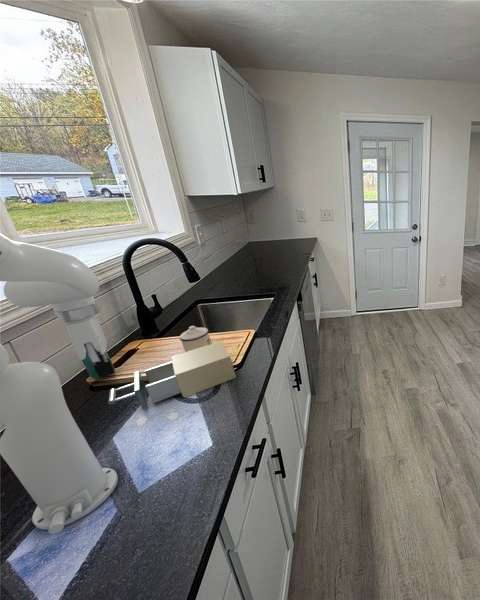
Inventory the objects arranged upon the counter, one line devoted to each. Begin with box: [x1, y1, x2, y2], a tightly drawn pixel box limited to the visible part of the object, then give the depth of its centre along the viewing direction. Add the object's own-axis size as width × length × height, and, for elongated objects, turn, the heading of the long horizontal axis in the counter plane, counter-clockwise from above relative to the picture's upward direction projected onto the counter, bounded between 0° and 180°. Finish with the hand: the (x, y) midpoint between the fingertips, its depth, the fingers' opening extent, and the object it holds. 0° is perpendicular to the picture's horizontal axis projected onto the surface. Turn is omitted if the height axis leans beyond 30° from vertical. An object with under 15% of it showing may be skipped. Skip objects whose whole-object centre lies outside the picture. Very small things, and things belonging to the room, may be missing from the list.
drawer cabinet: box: [170, 340, 237, 399], centre depth 101 cm, size 15×14×8 cm
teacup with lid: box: [179, 325, 213, 352], centre depth 115 cm, size 12×9×12 cm
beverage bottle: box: [80, 351, 115, 379], centre depth 102 cm, size 6×7×20 cm
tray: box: [108, 361, 182, 410], centre depth 93 cm, size 20×12×6 cm, turn 129°
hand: (107, 374), depth 85 cm, fingers closed
